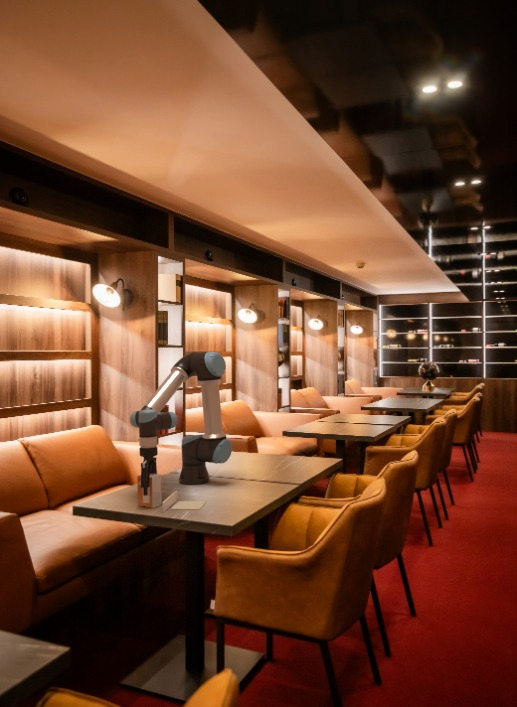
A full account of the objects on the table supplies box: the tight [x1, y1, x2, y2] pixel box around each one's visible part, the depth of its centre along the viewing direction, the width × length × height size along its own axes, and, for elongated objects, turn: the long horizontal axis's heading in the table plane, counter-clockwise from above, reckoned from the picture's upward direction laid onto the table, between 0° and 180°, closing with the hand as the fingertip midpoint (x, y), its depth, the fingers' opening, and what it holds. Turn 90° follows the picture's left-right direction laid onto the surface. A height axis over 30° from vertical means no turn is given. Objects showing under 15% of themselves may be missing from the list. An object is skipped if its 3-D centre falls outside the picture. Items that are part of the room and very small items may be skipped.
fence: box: [161, 490, 179, 513], centre depth 249 cm, size 20×1×4 cm, turn 172°
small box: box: [137, 473, 163, 509], centre depth 250 cm, size 8×6×13 cm
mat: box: [170, 500, 207, 511], centre depth 248 cm, size 12×12×1 cm
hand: (149, 500), depth 250 cm, fingers open, 8 cm apart
